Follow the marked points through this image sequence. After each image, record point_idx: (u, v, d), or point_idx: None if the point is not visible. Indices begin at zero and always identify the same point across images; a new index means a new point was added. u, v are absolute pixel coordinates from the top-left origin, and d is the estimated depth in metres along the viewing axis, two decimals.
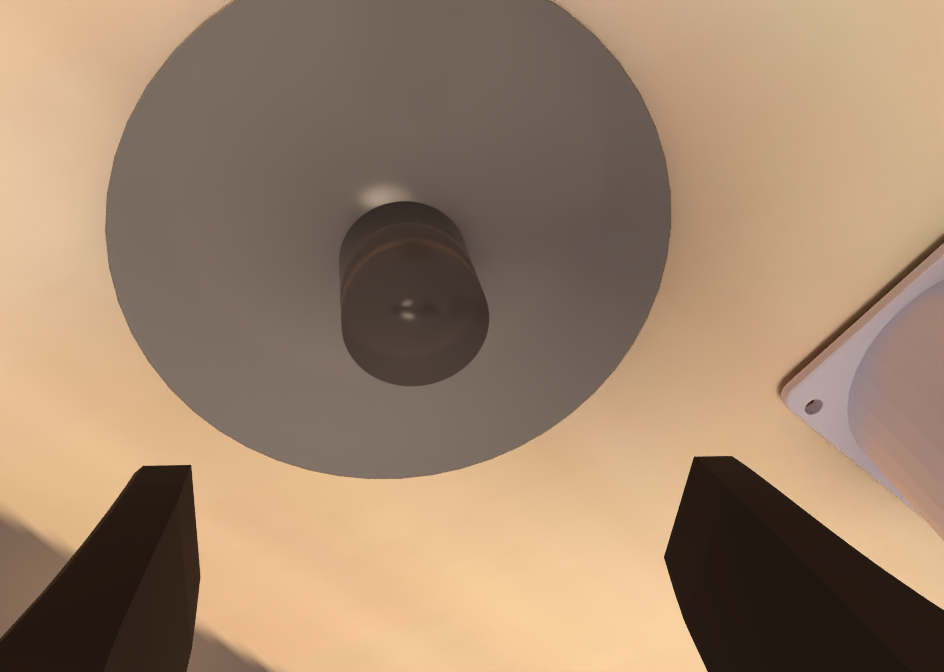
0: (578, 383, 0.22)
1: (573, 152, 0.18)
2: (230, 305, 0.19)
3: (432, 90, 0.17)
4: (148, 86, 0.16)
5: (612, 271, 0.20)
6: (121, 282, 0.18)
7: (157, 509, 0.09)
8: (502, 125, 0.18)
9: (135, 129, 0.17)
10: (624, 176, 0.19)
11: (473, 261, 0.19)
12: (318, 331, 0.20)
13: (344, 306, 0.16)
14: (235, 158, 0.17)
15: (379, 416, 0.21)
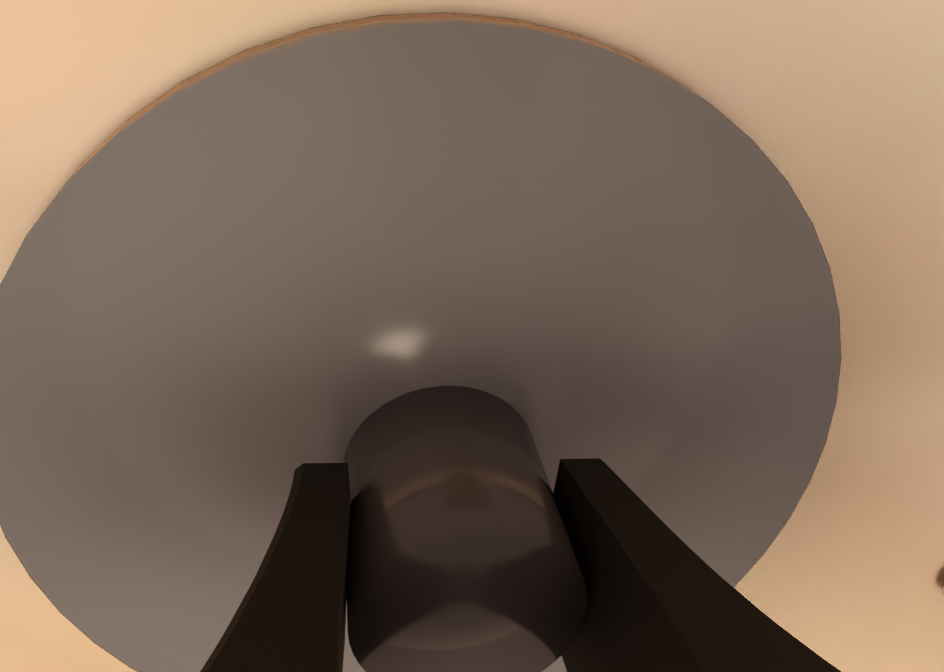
0: None
1: (703, 310, 0.12)
2: (179, 534, 0.13)
3: (491, 228, 0.11)
4: (28, 236, 0.10)
5: (745, 464, 0.14)
6: (8, 513, 0.12)
7: (333, 505, 0.10)
8: (598, 276, 0.11)
9: (12, 301, 0.10)
10: (776, 339, 0.12)
11: (544, 460, 0.13)
12: None
13: (352, 603, 0.10)
14: (178, 337, 0.11)
15: None
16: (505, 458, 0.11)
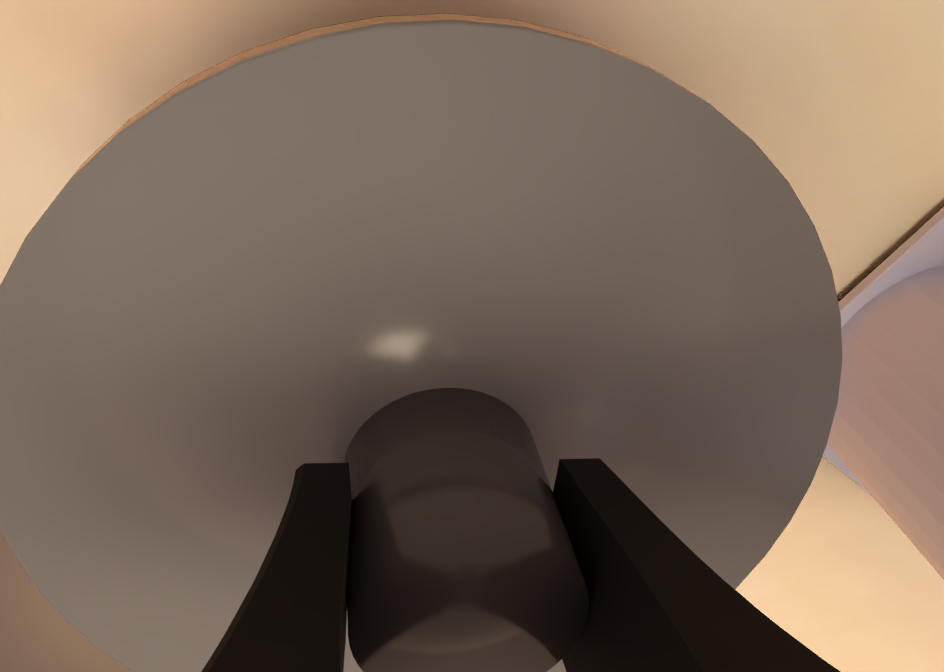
0: None
1: (704, 311, 0.12)
2: (179, 537, 0.13)
3: (492, 230, 0.11)
4: (28, 238, 0.10)
5: (746, 466, 0.14)
6: (8, 516, 0.12)
7: (334, 505, 0.10)
8: (599, 277, 0.11)
9: (11, 303, 0.10)
10: (777, 341, 0.12)
11: (545, 462, 0.13)
12: None
13: (353, 606, 0.10)
14: (177, 339, 0.11)
15: None
16: (506, 460, 0.11)
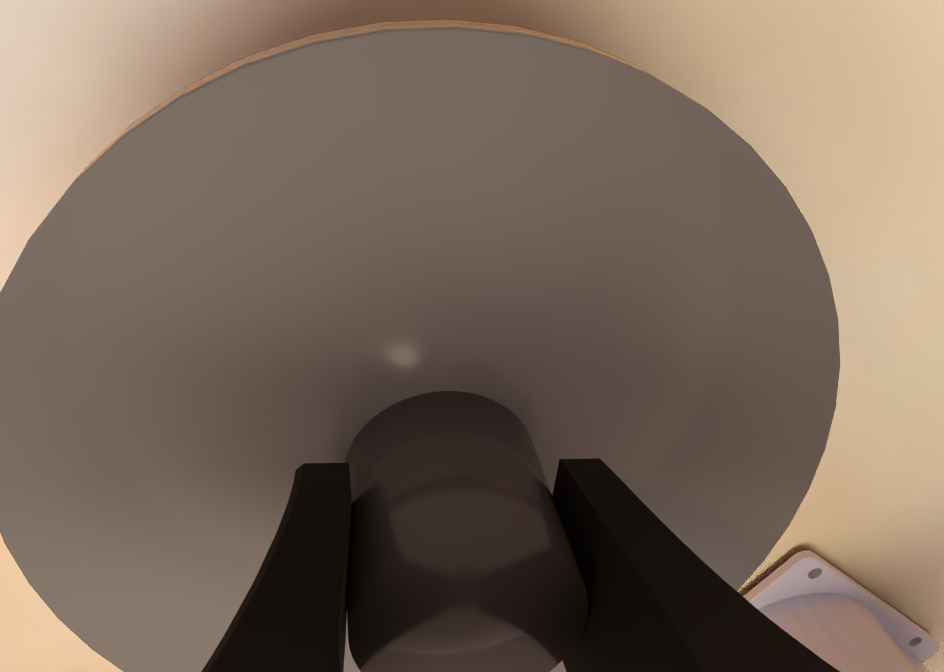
0: None
1: (703, 315, 0.12)
2: (179, 540, 0.13)
3: (492, 233, 0.11)
4: (31, 240, 0.10)
5: (745, 470, 0.14)
6: (8, 518, 0.12)
7: (334, 505, 0.10)
8: (597, 281, 0.11)
9: (14, 304, 0.10)
10: (775, 345, 0.12)
11: (544, 466, 0.13)
12: None
13: (352, 607, 0.10)
14: (179, 341, 0.11)
15: None
16: (505, 462, 0.11)
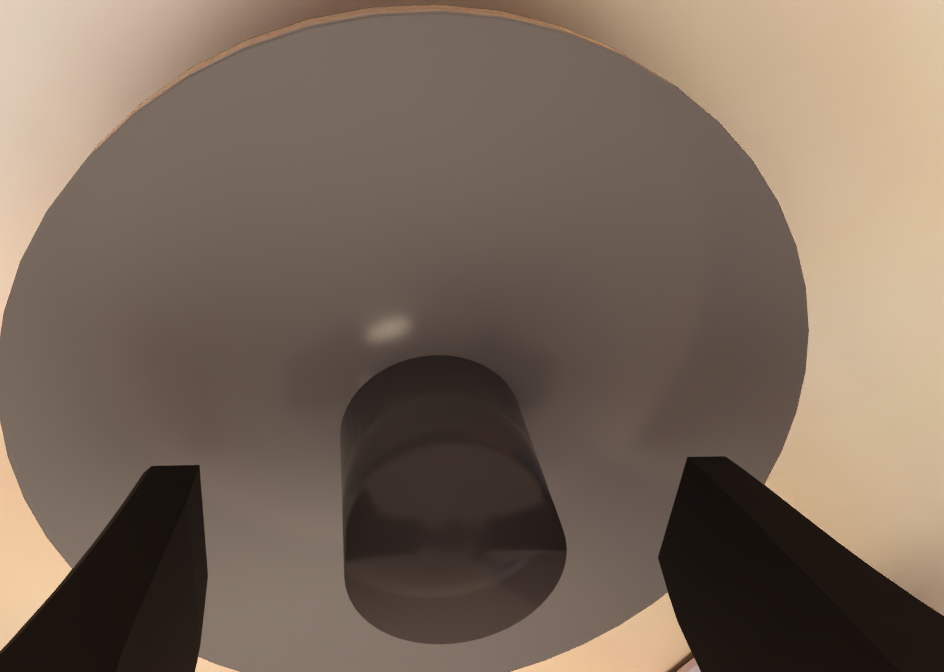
0: None
1: (677, 282, 0.13)
2: None
3: (477, 205, 0.12)
4: (48, 212, 0.11)
5: (720, 432, 0.14)
6: (27, 475, 0.13)
7: (166, 509, 0.09)
8: (577, 250, 0.12)
9: (33, 272, 0.11)
10: (746, 312, 0.13)
11: (529, 428, 0.14)
12: (312, 523, 0.14)
13: (348, 549, 0.11)
14: (186, 307, 0.12)
15: None
16: (490, 419, 0.12)
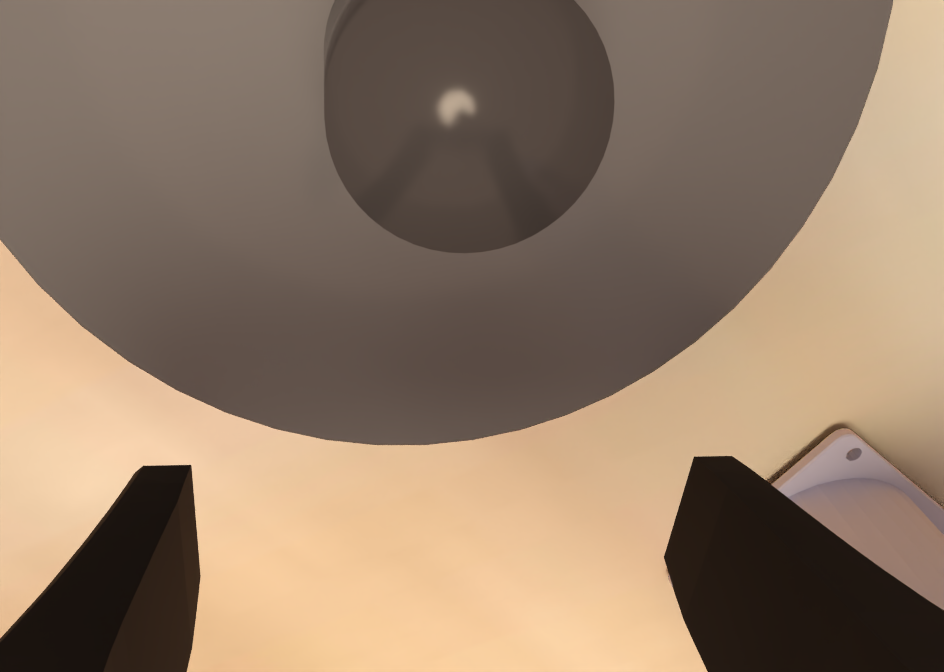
0: (711, 291, 0.14)
1: None
2: (134, 130, 0.11)
3: None
4: None
5: (786, 91, 0.12)
6: None
7: (157, 510, 0.09)
8: None
9: None
10: None
11: None
12: (290, 186, 0.11)
13: (330, 72, 0.08)
14: None
15: (393, 342, 0.13)
16: None
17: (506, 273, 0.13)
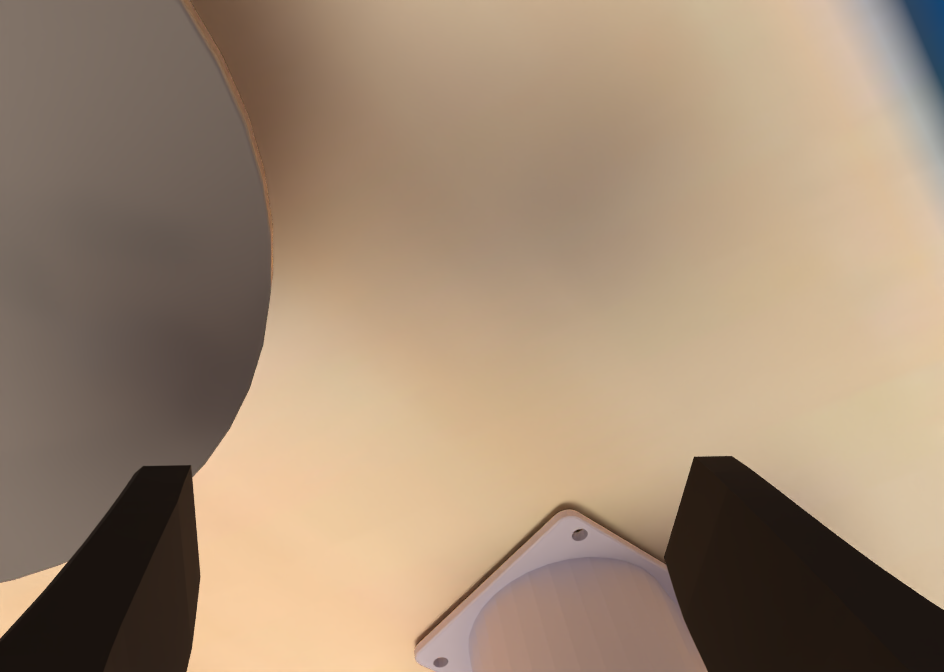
0: (173, 449, 0.13)
1: (31, 54, 0.10)
2: None
3: None
4: None
5: (176, 269, 0.12)
6: None
7: (157, 510, 0.09)
8: None
9: None
10: (146, 100, 0.11)
11: None
12: None
13: None
14: None
15: None
16: None
17: None
